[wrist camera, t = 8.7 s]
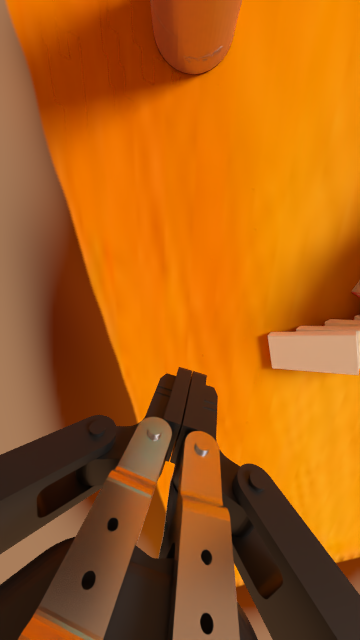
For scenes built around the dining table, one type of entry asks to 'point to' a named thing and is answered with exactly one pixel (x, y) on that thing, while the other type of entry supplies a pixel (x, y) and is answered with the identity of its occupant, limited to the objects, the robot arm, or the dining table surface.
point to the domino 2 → (342, 322)
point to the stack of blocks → (356, 289)
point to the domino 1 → (315, 351)
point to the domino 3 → (333, 328)
